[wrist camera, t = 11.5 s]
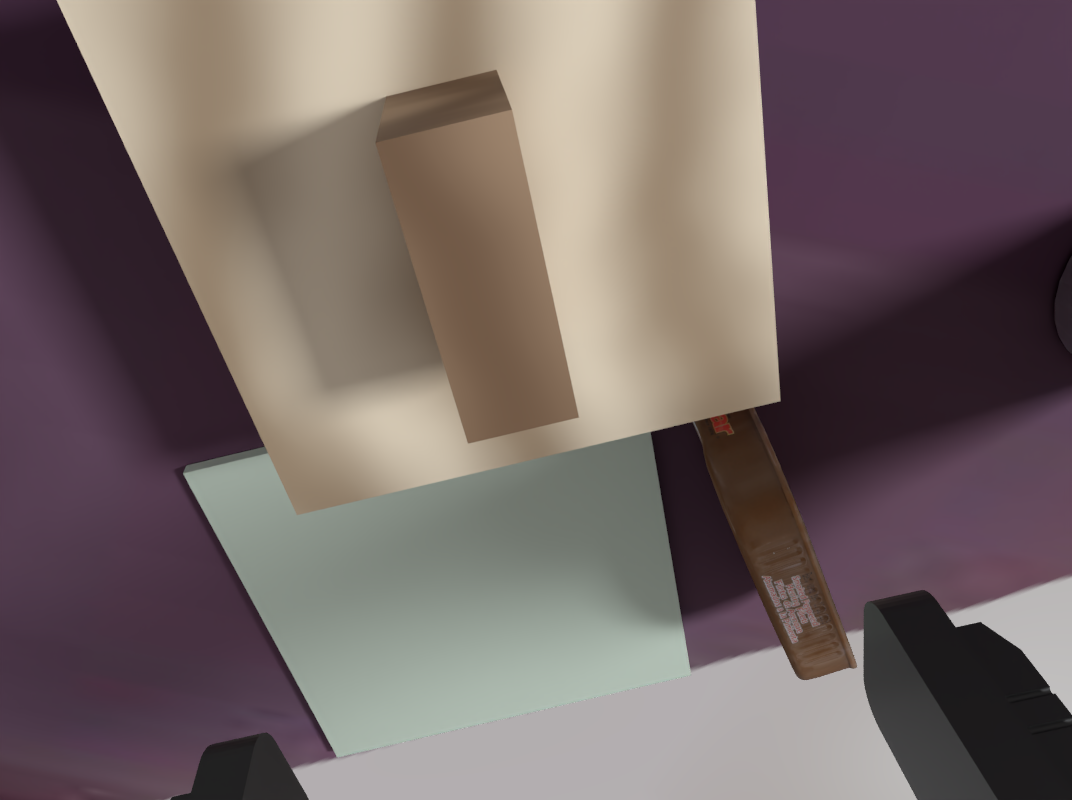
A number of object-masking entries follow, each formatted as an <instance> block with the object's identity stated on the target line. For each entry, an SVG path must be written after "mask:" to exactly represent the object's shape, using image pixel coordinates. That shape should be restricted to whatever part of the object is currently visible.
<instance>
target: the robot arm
mask: <svg viewBox="0 0 1072 800" xmlns="http://www.w3.org/2000/svg"><path fill="white" fill-rule="evenodd" d="M1055 324H1056V328H1057V332H1058V336H1059V338H1060V339H1061V341H1062V343H1063V344H1064V346H1065V347H1066V349H1067V350H1068V351H1069V352H1070V353H1071V354H1072V256H1071V258H1070V259H1069V261H1068V263H1067V266H1066V268H1065V270H1064V272H1063V274H1062V277H1061V279H1060V282H1059V286H1058V290H1057V294H1056V298H1055ZM864 684H865V690H866V694H867V698H868V701H869V704H870V707H871V710H872V713H873V715H874V718H875V720H876V722H877V724H878V726H879V728H880V730H881V732H882V734H883V736H884V738H885V740H886V742H887V743H888V745H889V747H890V749H891V751H892V753H893V755H894V756H895V758H896V760H897V762H898V764H899V766H900V768H901V770H902V772H903V773H904V775H905V777H906V779H907V781H908V783H909V784H910V787H911V788H912V790H913V792H914V794H915V796H916V798H917V799H918V800H1072V715H1071V713H1070V712H1069V711H1068V709H1067V708H1066V707H1065V706H1064V704H1063V703H1062V702H1061V700H1060V699H1059V698H1058V697H1057V695H1056V694H1052V693H1051V691H1050V686H1049V685H1048V684H1047V683H1046V681H1045V680H1044V679H1043V677H1042V676H1041V675H1040V674H1039V672H1038V671H1037V670H1036V669H1035V667H1034V666H1033V665H1032V663H1031V662H1030V661H1029V659H1028V658H1027V657H1026V656H1025V654H1024V653H1023V652H1022V651H1021V650H1020V649H1019V648H1018V647H1016V646H1015V645H1013V644H1012V643H1010V642H1009V641H1007V640H1006V639H1004V638H1003V637H1001V636H1000V635H998V634H997V633H996V632H994V631H993V630H991V629H990V628H988V627H987V626H985V625H984V624H982V623H981V622H979V623H974V624H970V625H965V626H961V627H955V626H954V625H953V623H952V622H951V620H950V619H949V617H948V616H947V615H946V613H945V612H944V610H943V609H942V608H941V606H940V605H939V603H938V602H937V601H936V599H935V598H934V597H933V596H932V595H931V594H930V593H928V592H927V591H925V590H920V591H915V592H911V593H906V594H902V595H897V596H893V597H888V598H884V599H879V600H875V601H870V602H867V603H866V604H865V607H864ZM171 800H309V799H308V797H307V795H306V793H305V792H304V790H303V788H302V786H301V785H300V783H299V782H298V780H297V778H296V776H295V774H294V773H293V771H292V769H291V768H290V766H289V764H288V762H287V761H286V759H285V757H284V755H283V754H282V752H281V750H280V749H279V747H278V745H277V743H276V742H275V740H274V739H273V737H272V736H271V735H270V734H268V733H261V734H257V735H252V736H248V737H243V738H239V739H234V740H230V741H225V742H221V743H216V744H212V745H210V746H208V747H207V748H206V750H205V751H204V753H203V755H202V757H201V760H200V763H199V767H198V770H197V774H196V777H195V781H194V784H193V788H192V791H191V793H188V794H184V795H179V796H175V797H172V798H171Z"/></svg>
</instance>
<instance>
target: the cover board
mask: <svg viewBox="0 0 1072 800" xmlns="http://www.w3.org/2000/svg"><path fill="white" fill-rule="evenodd" d="M57 2H58V4H59V6H60V8H61V11H62V13H63V15H64V17H65V19H66V21H67V23H68V26H69V28H70V30H71V32H72V34H73V36H74V38H75V41H76V43H77V45H78V47H79V49H80V51H81V53H82V56H83V58H84V60H85V62H86V64H87V66H88V68H89V71H90V73H91V75H92V77H93V79H94V81H95V83H96V86H97V88H98V90H99V92H100V94H101V96H102V98H103V101H104V103H105V105H106V107H107V109H108V111H109V113H110V116H111V118H112V120H113V122H114V124H115V126H116V128H117V131H118V133H119V135H120V137H121V139H122V141H123V143H124V146H125V148H126V150H127V152H128V154H129V156H130V158H131V161H132V163H133V165H134V167H135V169H136V171H137V173H138V176H139V178H140V180H141V182H142V184H143V186H144V188H145V191H146V193H147V195H148V197H149V199H150V201H151V203H152V206H153V208H154V210H155V212H156V214H157V216H158V218H159V221H160V223H161V225H162V227H163V229H164V231H165V233H166V236H167V238H168V240H169V242H170V244H171V246H172V248H173V251H174V253H175V255H176V257H177V259H178V261H179V263H180V266H181V268H182V270H183V272H184V274H185V276H186V278H187V281H188V283H189V285H190V287H191V289H192V291H193V293H194V296H195V298H196V300H197V302H198V304H199V306H200V308H201V311H202V313H203V315H204V317H205V319H206V321H207V323H208V326H209V328H210V330H211V332H212V334H213V336H214V338H215V341H216V343H217V345H218V347H219V349H220V351H221V353H222V355H223V358H224V360H225V362H226V364H227V366H228V368H229V370H230V373H231V375H232V377H233V379H234V381H235V383H236V385H237V388H238V390H239V392H240V394H241V396H242V398H243V400H244V403H245V405H246V407H247V409H248V411H249V413H250V415H251V418H252V420H253V422H254V424H255V426H256V428H257V430H258V433H259V435H260V437H261V439H262V441H263V443H264V445H265V448H266V450H267V452H268V454H269V456H270V458H271V460H272V463H273V465H274V467H275V469H276V471H277V473H278V475H279V478H280V480H281V482H282V484H283V486H284V488H285V490H286V493H287V495H288V497H289V499H290V501H291V503H292V505H293V508H294V510H295V512H296V514H297V515H300V514H304V513H309V512H313V511H317V510H321V509H326V508H330V507H334V506H338V505H342V504H347V503H351V502H355V501H359V500H364V499H368V498H372V497H376V496H381V495H385V494H389V493H393V492H398V491H402V490H406V489H410V488H414V487H419V486H423V485H427V484H431V483H436V482H440V481H444V480H448V479H453V478H457V477H461V476H465V475H470V474H474V473H478V472H482V471H486V470H491V469H495V468H499V467H503V466H508V465H512V464H516V463H520V462H525V461H529V460H533V459H537V458H542V457H546V456H550V455H554V454H559V453H563V452H567V451H571V450H575V449H580V448H584V447H588V446H592V445H597V444H601V443H605V442H609V441H614V440H618V439H622V438H626V437H631V436H635V435H639V434H643V433H647V432H652V431H656V430H660V429H664V428H669V427H673V426H677V425H681V424H686V423H690V422H694V421H698V420H703V419H707V418H711V417H715V416H719V415H724V414H728V413H732V412H736V411H741V410H745V409H749V408H753V407H758V406H762V405H766V404H770V403H775V402H779V401H781V400H780V385H779V369H778V353H777V337H776V322H775V306H774V290H773V274H772V259H771V243H770V227H769V211H768V196H767V180H766V164H765V148H764V133H763V117H762V101H761V86H760V70H759V54H758V38H757V23H756V7H755V0H57Z"/></svg>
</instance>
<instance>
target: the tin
mask: <svg viewBox="0 0 1072 800" xmlns="http://www.w3.org/2000/svg"><path fill="white" fill-rule="evenodd" d="M692 423H693V425H694V427H695V429H696V432H697V434H698V436H699V438H700V441H701V443H702V445H703V453H704V457H705V462H706V466H707V469H708V472H709V474H710V477H711V480H712V482H713V485H714V488H715V490H716V493H717V495H718V498H719V501H720V503H721V506H722V508H723V511H724V513H725V515H726V518H727V520H728V522H729V525H730V527H731V530H732V532H733V534H734V537H735V539H736V542H737V544H738V546H739V549H740V551H741V554H742V556H743V558H744V561H745V563H746V565H747V568H748V570H749V572H750V575H751V577H752V579H753V582H754V584H755V586H756V589H757V591H758V593H759V596H760V598H761V600H762V603H763V605H764V607H765V610H766V612H767V614H768V616H769V618H770V621H771V623H772V625H773V627H774V629H775V631H776V634H777V636H778V638H779V640H780V642H781V644H782V646H783V648H784V650H785V652H786V655H787V657H788V659H789V661H790V663H791V665H792V668H793V669H794V672H795V673H796V675H797V677H798V678H800V679H802V680H809V679H813V678H817V677H821V676H824V675H827V674H830V673H833V672H836V671H840V670H843V669H846V668H856V667H857V664H856V661H855V659H854V655H853V652H852V649H851V647H850V644H849V642H848V639H847V636H846V633H845V631H844V628H843V626H842V623H841V620H840V617H839V615H838V612H837V610H836V607H835V604H834V602H833V599H832V597H831V594H830V591H829V588H828V586H827V583H826V581H825V578H824V575H823V573H822V570H821V567H820V564H819V562H818V559H817V557H816V554H815V551H814V548H813V545H812V543H811V540H810V537H809V535H808V532H807V529H806V527H805V524H804V522H803V519H802V517H801V514H800V512H799V510H798V507H797V505H796V502H795V499H794V497H793V495H792V492H791V490H790V488H789V485H788V483H787V481H786V478H785V476H784V474H783V471H782V469H781V466H780V463H779V461H778V459H777V457H776V454H775V452H774V450H773V448H772V445H771V443H770V441H769V439H768V436H767V434H766V432H765V430H764V427H763V425H762V423H761V421H760V419H759V417H758V415H757V412H756V411H755V408H754V407H753V408H749V409H745V410H741V411H736V412H732V413H728V414H724V415H719V416H715V417H711V418H707V419H703V420H698V421H694V422H692Z"/></svg>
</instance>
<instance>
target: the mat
mask: <svg viewBox="0 0 1072 800" xmlns="http://www.w3.org/2000/svg"><path fill="white" fill-rule="evenodd" d="M183 475H184V476H185V478H186V480H187V482H188V484H189V486H190V487H191V489H192V491H193V493H194V495H195V497H196V498H197V500H198V502H199V504H200V506H201V508H202V509H203V511H204V513H205V515H206V517H207V519H208V521H209V522H210V524H211V526H212V528H213V530H214V532H215V533H216V535H217V537H218V539H219V541H220V543H221V544H222V546H223V548H224V550H225V552H226V554H227V555H228V557H229V559H230V561H231V563H232V565H233V566H234V568H235V570H236V572H237V574H238V576H239V577H240V579H241V581H242V583H243V585H244V587H245V589H246V590H247V592H248V594H249V596H250V598H251V600H252V601H253V603H254V605H255V607H256V609H257V611H258V612H259V614H260V616H261V618H262V620H263V622H264V623H265V625H266V627H267V629H268V631H269V633H270V634H271V636H272V638H273V640H274V642H275V644H276V645H277V647H278V649H279V651H280V653H281V655H282V657H283V658H284V660H285V662H286V664H287V666H288V668H289V669H290V671H291V673H292V675H293V677H294V679H295V680H296V682H297V684H298V686H299V688H300V690H301V691H302V693H303V695H304V697H305V699H306V701H307V702H308V704H309V706H310V708H311V710H312V712H313V713H314V715H315V717H316V719H317V721H318V723H319V725H320V726H321V728H322V730H323V732H324V734H325V736H326V737H327V739H328V741H329V743H330V745H331V747H332V748H333V750H334V752H335V754H336V756H337V758H338V757H342V756H346V755H351V754H355V753H359V752H364V751H368V750H372V749H376V748H381V747H385V746H389V745H394V744H398V743H402V742H407V741H411V740H415V739H419V738H424V737H428V736H432V735H437V734H441V733H445V732H449V731H454V730H458V729H462V728H466V727H471V726H475V725H479V724H484V723H488V722H493V721H497V720H501V719H506V718H510V717H514V716H518V715H523V714H527V713H531V712H536V711H540V710H544V709H549V708H553V707H557V706H561V705H566V704H570V703H574V702H579V701H583V700H587V699H592V698H596V697H600V696H605V695H609V694H613V693H617V692H622V691H626V690H630V689H635V688H638V687H643V686H648V685H652V684H656V683H660V682H665V681H669V680H673V679H677V678H682V677H686V676H690V675H691V672H690V666H689V660H688V654H687V648H686V642H685V636H684V630H683V624H682V618H681V612H680V606H679V600H678V594H677V588H676V582H675V576H674V570H673V564H672V558H671V552H670V546H669V540H668V534H667V528H666V522H665V516H664V510H663V504H662V498H661V492H660V486H659V480H658V474H657V468H656V462H655V456H654V450H653V444H652V438H651V432H647V433H643V434H639V435H635V436H631V437H626V438H622V439H618V440H614V441H609V442H605V443H601V444H597V445H592V446H588V447H584V448H580V449H575V450H571V451H567V452H563V453H559V454H554V455H550V456H546V457H542V458H537V459H533V460H529V461H525V462H520V463H516V464H512V465H508V466H503V467H499V468H495V469H491V470H486V471H482V472H478V473H474V474H470V475H465V476H461V477H457V478H453V479H448V480H444V481H440V482H436V483H431V484H427V485H423V486H419V487H414V488H410V489H406V490H402V491H398V492H393V493H389V494H385V495H381V496H376V497H372V498H368V499H364V500H359V501H355V502H351V503H347V504H342V505H338V506H334V507H330V508H326V509H321V510H317V511H313V512H309V513H304V514H300V515H297V514H296V512H295V510H294V508H293V505H292V503H291V501H290V499H289V497H288V495H287V493H286V490H285V488H284V486H283V484H282V482H281V480H280V478H279V475H278V473H277V471H276V469H275V467H274V465H273V463H272V460H271V458H270V456H269V454H268V452H267V450H266V448H265V447H261V448H257V449H253V450H249V451H245V452H241V453H236V454H232V455H228V456H224V457H220V458H215V459H211V460H207V461H203V462H199V463H195V464H190V465H186V468H185V470H184V472H183Z"/></svg>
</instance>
